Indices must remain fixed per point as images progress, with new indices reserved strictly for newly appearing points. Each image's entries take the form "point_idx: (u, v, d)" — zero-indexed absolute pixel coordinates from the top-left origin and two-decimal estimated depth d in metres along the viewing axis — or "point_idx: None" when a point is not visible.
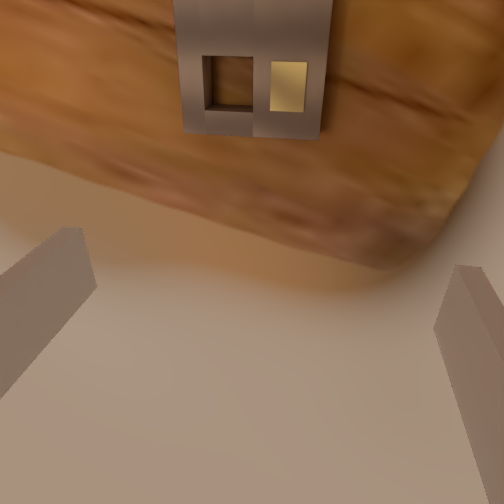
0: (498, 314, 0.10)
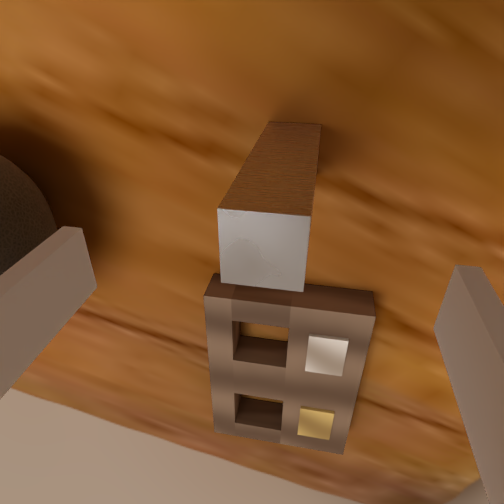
0: (498, 314, 0.10)
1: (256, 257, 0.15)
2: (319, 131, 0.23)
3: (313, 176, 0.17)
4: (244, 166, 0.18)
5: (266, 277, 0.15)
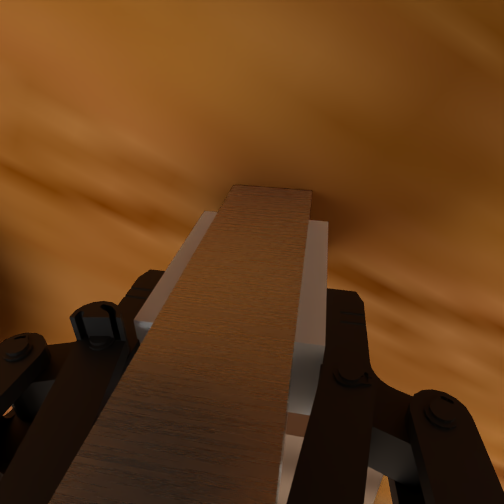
0: (319, 252, 0.13)
1: None
2: (308, 207, 0.15)
3: (289, 349, 0.09)
4: (163, 311, 0.10)
5: None
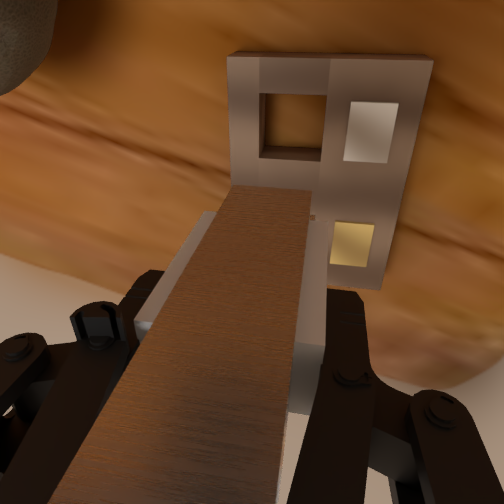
0: (319, 252, 0.13)
1: None
2: (308, 207, 0.15)
3: (289, 349, 0.08)
4: (163, 312, 0.10)
5: None
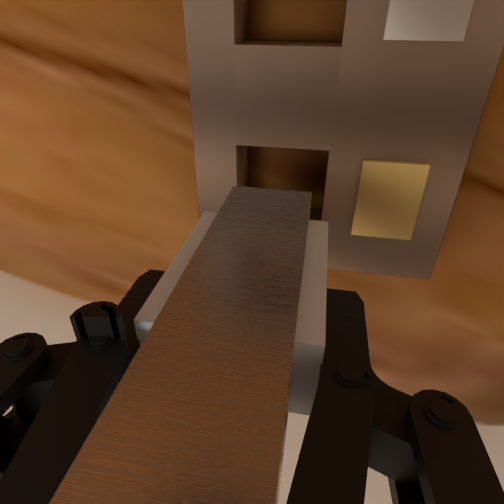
0: (319, 252, 0.13)
1: None
2: (308, 208, 0.15)
3: (289, 352, 0.08)
4: (163, 314, 0.10)
5: None
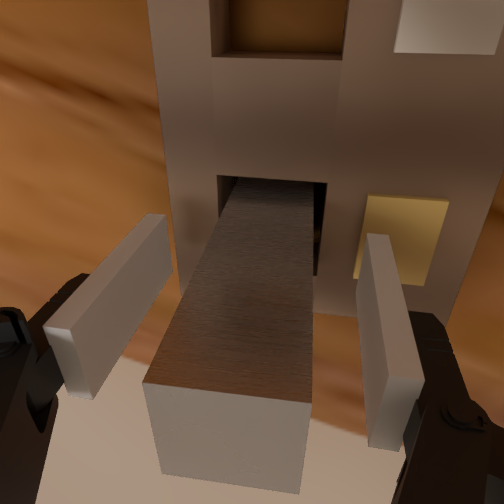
0: (388, 270, 0.12)
1: (217, 449, 0.09)
2: (312, 183, 0.17)
3: (310, 283, 0.11)
4: (202, 261, 0.11)
5: (236, 473, 0.09)
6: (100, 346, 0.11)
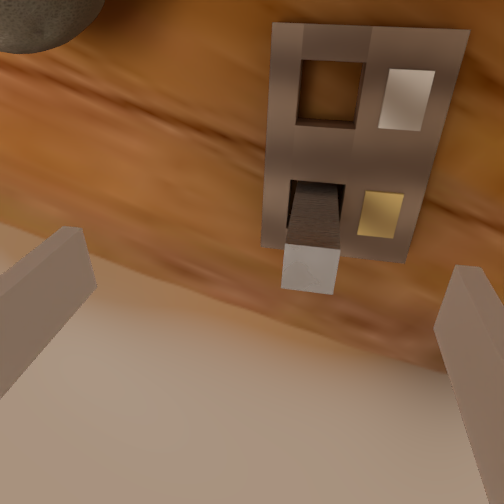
0: (498, 314, 0.10)
1: (305, 273, 0.24)
2: (336, 185, 0.33)
3: (338, 222, 0.27)
4: (292, 213, 0.28)
5: (310, 285, 0.25)
6: None
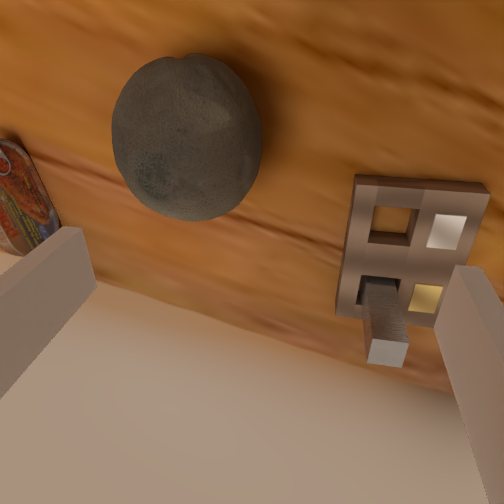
0: (498, 314, 0.10)
1: (384, 355, 0.38)
2: None
3: (402, 316, 0.40)
4: (370, 308, 0.41)
5: (387, 362, 0.38)
6: None
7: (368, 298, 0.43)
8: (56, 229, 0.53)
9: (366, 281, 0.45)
